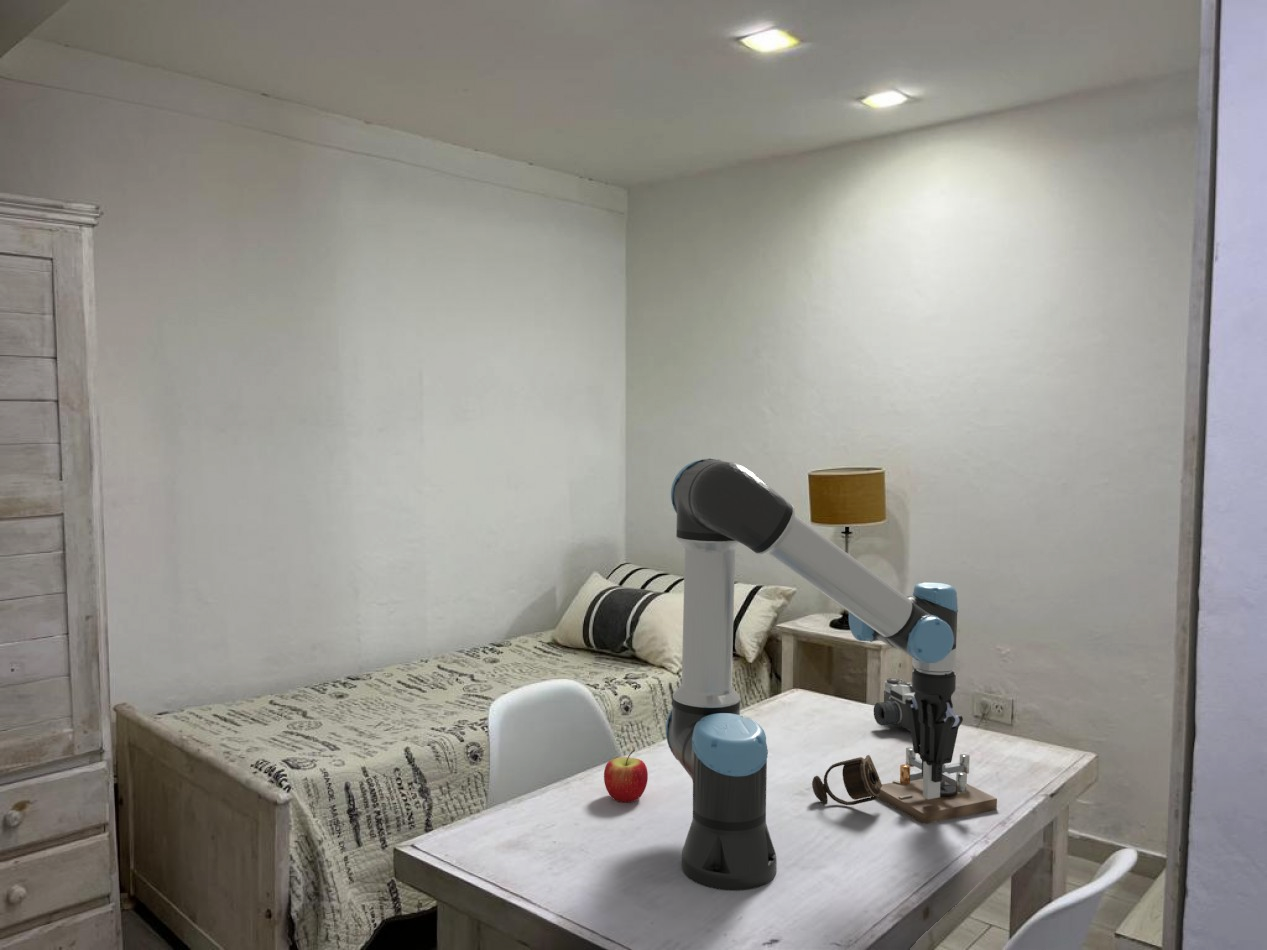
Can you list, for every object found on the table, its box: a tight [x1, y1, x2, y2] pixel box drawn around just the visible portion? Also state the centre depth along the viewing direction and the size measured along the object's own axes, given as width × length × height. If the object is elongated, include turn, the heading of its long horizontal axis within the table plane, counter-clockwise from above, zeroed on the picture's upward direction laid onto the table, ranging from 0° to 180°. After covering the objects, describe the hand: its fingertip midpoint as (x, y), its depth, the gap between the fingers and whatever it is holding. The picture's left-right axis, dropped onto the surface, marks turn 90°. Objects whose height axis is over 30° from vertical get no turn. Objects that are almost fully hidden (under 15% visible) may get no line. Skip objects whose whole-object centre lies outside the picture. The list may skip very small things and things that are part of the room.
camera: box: [873, 677, 916, 732], centre depth 227 cm, size 16×10×10 cm, turn 16°
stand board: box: [877, 779, 998, 825], centre depth 183 cm, size 17×14×2 cm
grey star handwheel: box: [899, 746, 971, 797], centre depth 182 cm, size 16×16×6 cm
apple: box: [603, 748, 649, 803], centre depth 183 cm, size 8×8×10 cm
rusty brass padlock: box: [811, 754, 882, 806], centre depth 179 cm, size 7×13×10 cm, turn 78°
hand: (931, 796), depth 177 cm, fingers closed
